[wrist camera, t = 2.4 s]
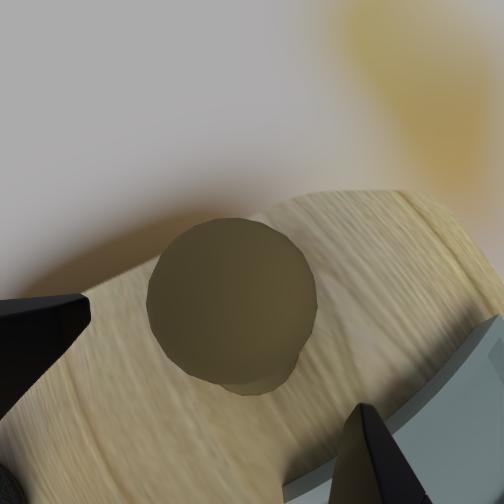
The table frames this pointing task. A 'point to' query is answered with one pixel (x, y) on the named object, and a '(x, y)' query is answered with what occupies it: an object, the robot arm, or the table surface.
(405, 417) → the slate tray
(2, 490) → the mate gourd
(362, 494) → the robot arm
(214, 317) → the cork
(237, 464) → the table surface
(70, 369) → the table surface
